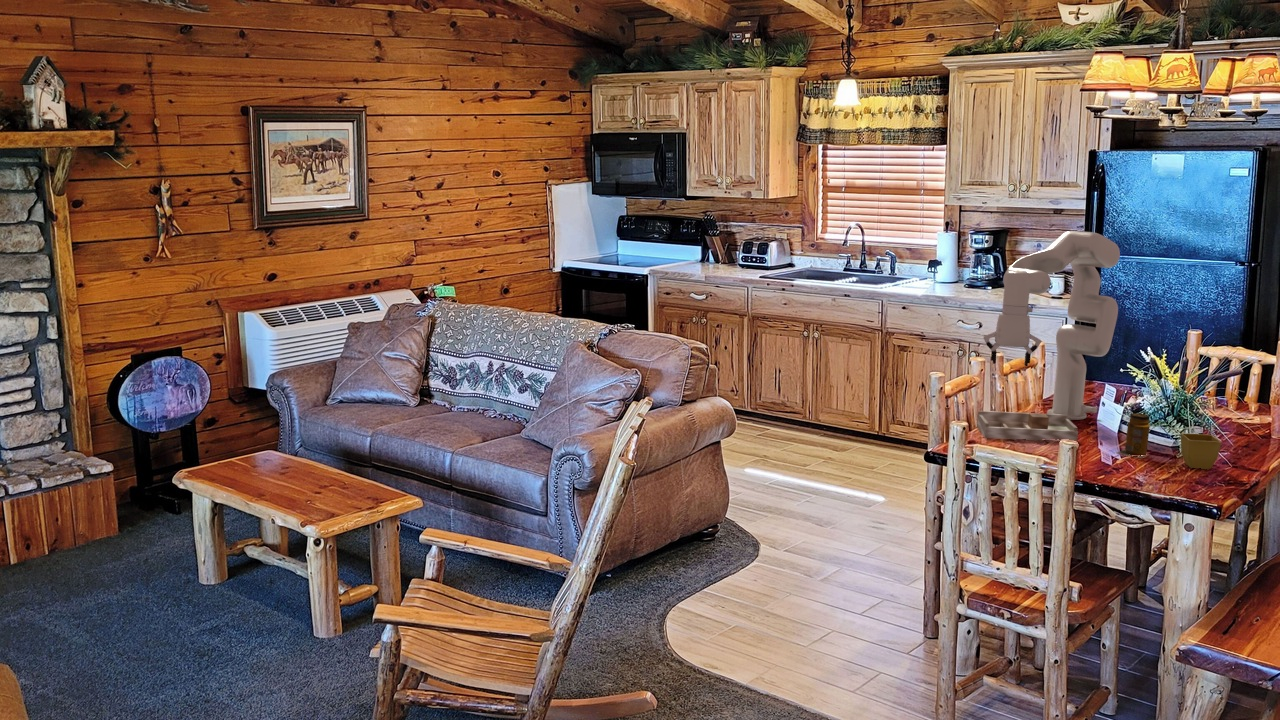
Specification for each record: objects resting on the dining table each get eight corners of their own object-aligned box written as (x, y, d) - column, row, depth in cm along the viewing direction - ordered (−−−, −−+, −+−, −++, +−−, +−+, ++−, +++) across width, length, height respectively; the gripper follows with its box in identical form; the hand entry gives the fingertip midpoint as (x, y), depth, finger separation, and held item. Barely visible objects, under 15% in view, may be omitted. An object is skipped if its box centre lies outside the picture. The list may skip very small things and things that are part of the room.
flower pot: (1176, 462, 331) (1180, 432, 330) (1208, 464, 330) (1212, 434, 328) (1185, 470, 323) (1189, 440, 321) (1218, 472, 321) (1222, 442, 320)
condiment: (1151, 453, 340) (1156, 415, 338) (1140, 458, 334) (1144, 419, 332) (1127, 448, 345) (1131, 410, 343) (1115, 453, 339) (1120, 414, 337)
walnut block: (1043, 425, 360) (1045, 413, 360) (1047, 429, 355) (1048, 417, 355) (1027, 425, 361) (1028, 413, 360) (1031, 429, 356) (1032, 416, 355)
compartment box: (1065, 431, 364) (1066, 414, 363) (1076, 442, 351) (1078, 425, 350) (976, 427, 367) (978, 410, 366) (985, 437, 354) (986, 421, 352)
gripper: (1042, 310, 353) (1037, 364, 357) (985, 307, 358) (980, 360, 361) (1045, 314, 346) (1039, 368, 349) (986, 310, 350) (981, 364, 354)
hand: (1009, 364), depth 355 cm, fingers open, 9 cm apart
